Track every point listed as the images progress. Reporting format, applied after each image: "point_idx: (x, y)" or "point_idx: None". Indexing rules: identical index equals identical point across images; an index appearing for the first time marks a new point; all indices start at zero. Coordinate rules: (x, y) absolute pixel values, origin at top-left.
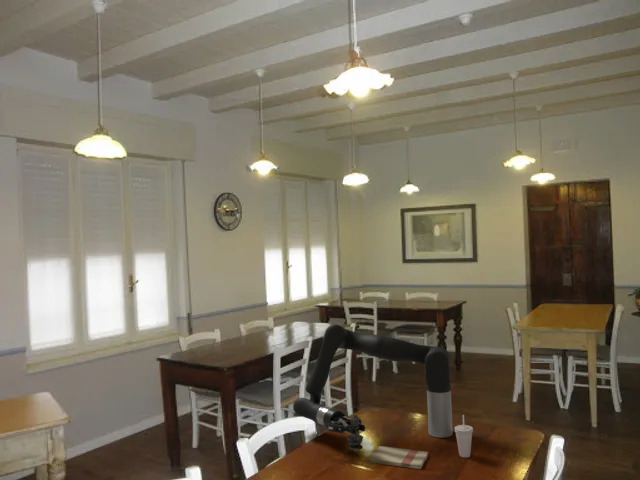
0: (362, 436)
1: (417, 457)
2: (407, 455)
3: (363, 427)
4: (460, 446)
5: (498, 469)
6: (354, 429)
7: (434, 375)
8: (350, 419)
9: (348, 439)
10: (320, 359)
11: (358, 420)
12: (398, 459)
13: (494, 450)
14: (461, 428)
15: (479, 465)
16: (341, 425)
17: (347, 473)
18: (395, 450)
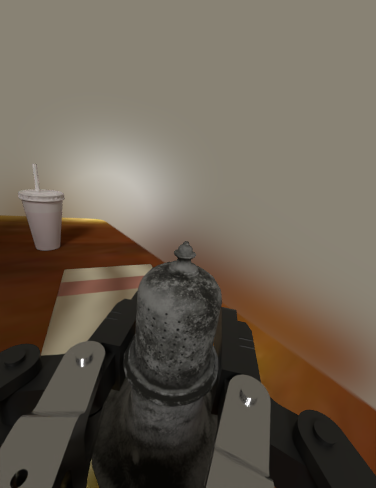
0: (124, 380)
1: (110, 274)
2: (107, 289)
3: None
4: (58, 228)
5: (97, 227)
6: (234, 312)
7: None
8: (215, 311)
9: None
10: None
11: (30, 367)
12: None
13: (13, 231)
14: (48, 192)
15: (90, 235)
16: (323, 432)
17: (315, 374)
18: (75, 322)
